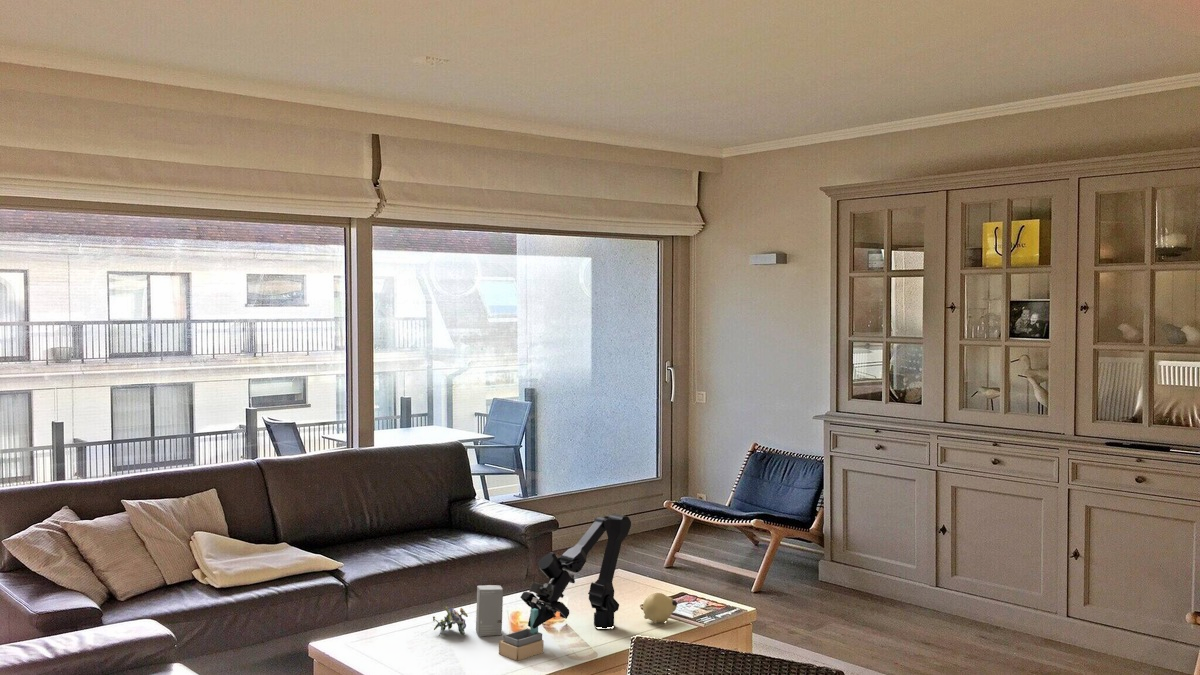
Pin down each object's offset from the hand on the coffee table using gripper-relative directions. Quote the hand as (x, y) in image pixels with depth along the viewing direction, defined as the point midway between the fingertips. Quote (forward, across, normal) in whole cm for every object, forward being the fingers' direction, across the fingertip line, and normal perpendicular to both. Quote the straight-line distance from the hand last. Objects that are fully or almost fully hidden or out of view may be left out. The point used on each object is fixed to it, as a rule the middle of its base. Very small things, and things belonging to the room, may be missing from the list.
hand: (531, 626), depth 314 cm
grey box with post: (+8, 0, +2) cm, 9 cm away
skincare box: (+5, -23, +6) cm, 24 cm away
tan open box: (+8, 0, +2) cm, 9 cm away
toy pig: (-31, +10, +42) cm, 54 cm away
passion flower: (+12, -30, -1) cm, 33 cm away
